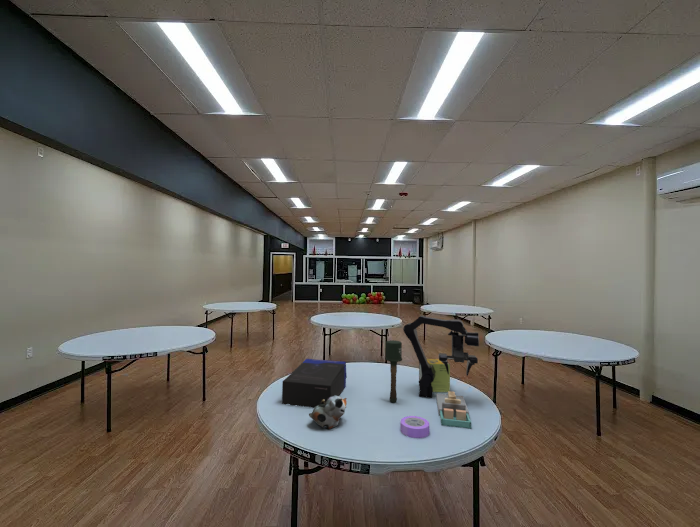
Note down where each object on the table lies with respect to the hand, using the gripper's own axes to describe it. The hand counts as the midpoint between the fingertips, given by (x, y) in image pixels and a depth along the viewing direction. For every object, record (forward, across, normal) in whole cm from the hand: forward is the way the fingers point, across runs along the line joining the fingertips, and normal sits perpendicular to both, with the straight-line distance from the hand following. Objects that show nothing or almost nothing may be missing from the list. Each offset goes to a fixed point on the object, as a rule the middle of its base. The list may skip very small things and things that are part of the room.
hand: (457, 375), depth 161 cm
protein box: (+13, -11, +15) cm, 23 cm away
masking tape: (+13, -21, -38) cm, 45 cm away
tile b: (+11, -1, -23) cm, 25 cm away
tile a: (+11, -7, -23) cm, 26 cm away
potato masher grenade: (+13, -32, -10) cm, 36 cm away
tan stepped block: (+10, -4, -15) cm, 19 cm away
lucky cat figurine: (+13, -57, -40) cm, 71 cm away
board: (+13, -4, -11) cm, 17 cm away
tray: (+13, -4, -26) cm, 29 cm away
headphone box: (+13, -72, -9) cm, 74 cm away
